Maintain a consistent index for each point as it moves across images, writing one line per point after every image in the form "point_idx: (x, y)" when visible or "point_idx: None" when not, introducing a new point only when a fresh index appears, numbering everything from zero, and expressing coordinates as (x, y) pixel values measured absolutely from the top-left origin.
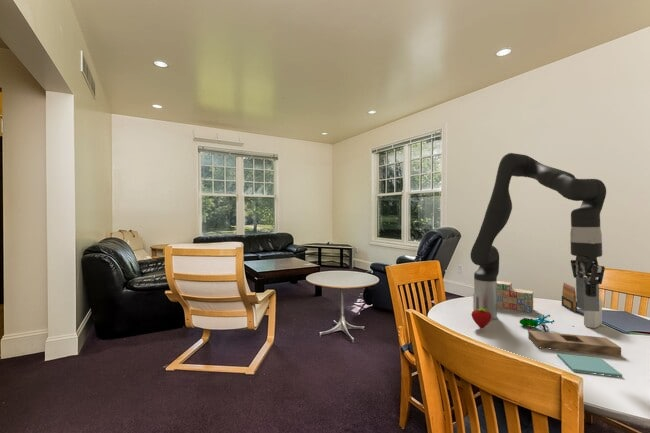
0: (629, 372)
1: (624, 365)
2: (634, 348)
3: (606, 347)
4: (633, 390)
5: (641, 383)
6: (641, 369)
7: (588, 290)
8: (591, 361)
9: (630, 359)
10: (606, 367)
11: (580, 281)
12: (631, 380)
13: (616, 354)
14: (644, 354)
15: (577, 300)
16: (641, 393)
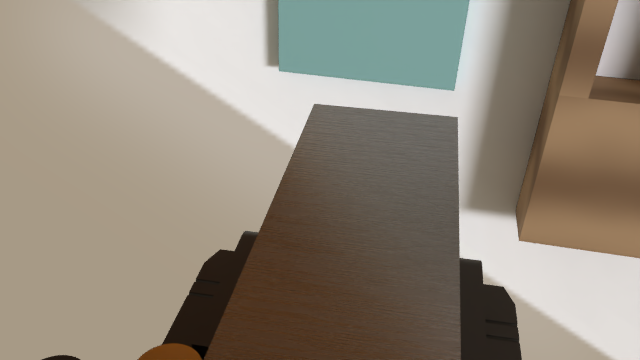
0: None
1: None
2: (614, 325)
3: (532, 180)
4: (172, 32)
5: (249, 108)
6: None
7: (225, 284)
8: (403, 12)
9: (486, 227)
10: (343, 47)
11: (301, 352)
12: (265, 86)
13: (521, 199)
14: (547, 315)
15: (437, 157)
16: (157, 47)
